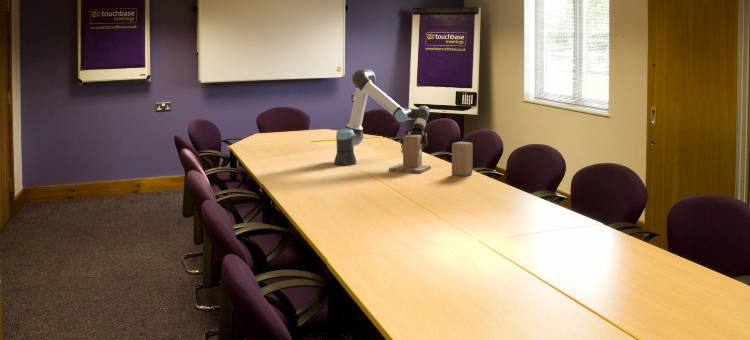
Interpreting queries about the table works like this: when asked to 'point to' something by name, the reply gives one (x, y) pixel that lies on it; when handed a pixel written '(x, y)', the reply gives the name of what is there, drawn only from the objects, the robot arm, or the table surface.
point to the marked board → (409, 169)
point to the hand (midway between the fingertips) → (410, 152)
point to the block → (462, 158)
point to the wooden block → (412, 151)
